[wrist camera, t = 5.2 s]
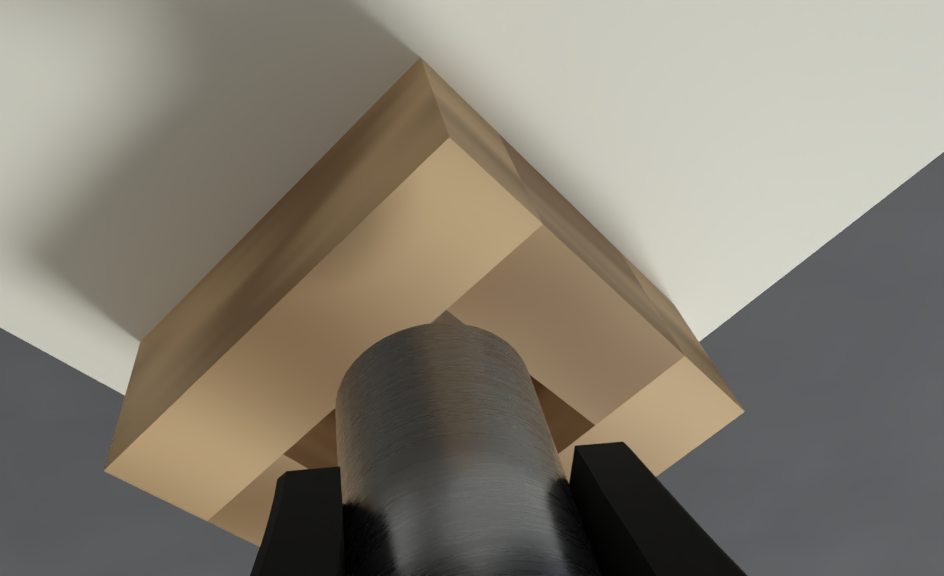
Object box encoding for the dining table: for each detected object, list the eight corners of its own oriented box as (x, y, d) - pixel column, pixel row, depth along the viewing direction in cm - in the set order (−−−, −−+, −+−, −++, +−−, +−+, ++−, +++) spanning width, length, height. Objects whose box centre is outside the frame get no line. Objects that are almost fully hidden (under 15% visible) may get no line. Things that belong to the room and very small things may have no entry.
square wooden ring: (420, 57, 16) (448, 137, 13) (674, 304, 20) (744, 411, 17) (140, 342, 18) (103, 470, 15) (421, 507, 23) (440, 634, 20)
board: (406, -1104, 10) (418, -1201, 9) (1003, 59, 20) (1041, 76, 19) (-347, 89, 15) (-392, 113, 14) (416, 525, 25) (421, 557, 24)
